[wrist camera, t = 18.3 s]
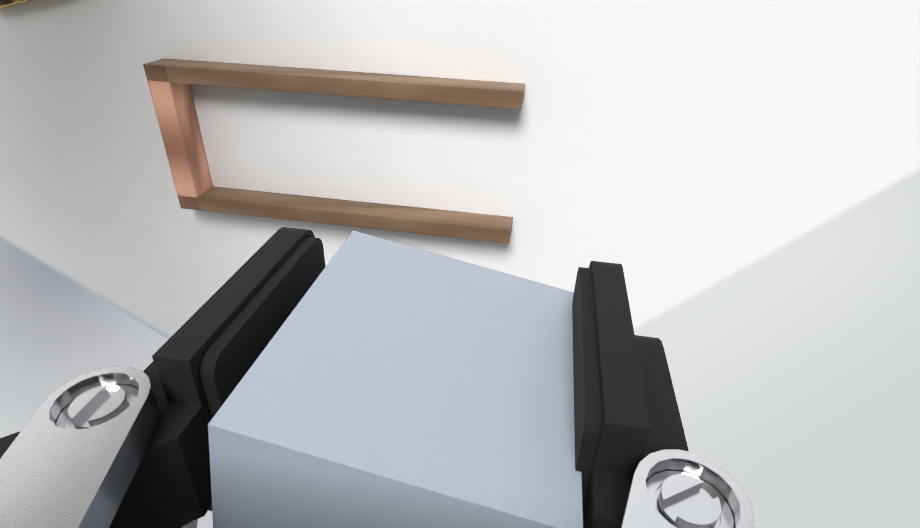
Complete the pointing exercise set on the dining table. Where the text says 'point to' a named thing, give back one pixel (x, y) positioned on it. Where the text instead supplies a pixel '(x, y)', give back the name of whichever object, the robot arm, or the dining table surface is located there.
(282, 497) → the grey block
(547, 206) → the dining table surface
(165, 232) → the dining table surface
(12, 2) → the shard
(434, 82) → the guide channel
